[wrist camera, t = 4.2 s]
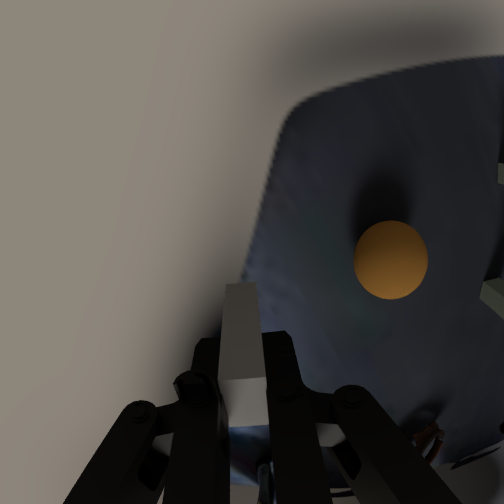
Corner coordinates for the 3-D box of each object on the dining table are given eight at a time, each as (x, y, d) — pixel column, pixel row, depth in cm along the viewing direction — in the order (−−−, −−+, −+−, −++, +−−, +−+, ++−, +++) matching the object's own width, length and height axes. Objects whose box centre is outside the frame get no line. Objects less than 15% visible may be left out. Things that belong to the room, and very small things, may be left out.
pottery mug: (369, 436, 32) (410, 458, 24) (411, 398, 35) (451, 412, 28) (377, 475, 33) (409, 496, 25) (413, 441, 36) (447, 456, 29)
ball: (406, 210, 20) (447, 231, 15) (401, 274, 22) (434, 306, 17) (343, 214, 20) (374, 237, 15) (342, 282, 22) (366, 320, 17)
